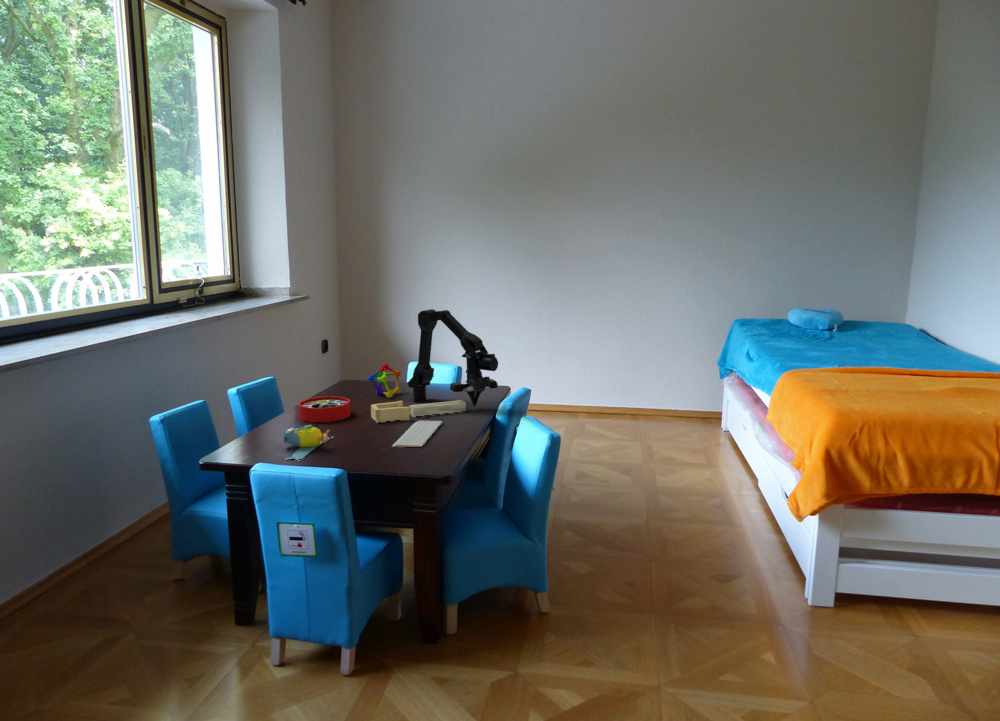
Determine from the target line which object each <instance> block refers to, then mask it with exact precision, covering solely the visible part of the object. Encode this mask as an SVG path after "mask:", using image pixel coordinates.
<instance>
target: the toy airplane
mask: <svg viewBox="0 0 1000 721" xmlns="http://www.w3.org/2000/svg"><path fill="white" fill-rule="evenodd" d="M330 431H331V429H326V431H325V432H323V433H322V431H321V430H320V429H319V427H316V426H312V424H307V425H300V426H298V427H297V426H295V427H291V428H288V429H285V430H284V432H283V435H282V439H283V440H282V441H283V444H286V443H287V444H289V445H291V446H292V445H293V446H295V447H299V448H298V449H297V450H296V451H295V452H294V453H293V454H292V455H291V456H292V457H291V456H289V457H285V458H284V459H285V460H284V461H290V460H292V459H296V460H298V461H299V462H301V461H300V460H299V459H302V460H303V459H304V458H305V457H307V455H309V453H311V452H313V451H314V450H315V449H316V448H318V447H319V446H320V445H322V444H327V442H329V440H332V439H334V436H329V433H330ZM329 437H331V438H329ZM298 461H297V462H298Z"/></svg>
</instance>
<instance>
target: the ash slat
mask: <svg viewBox="0 0 1000 721" xmlns="http://www.w3.org/2000/svg"><path fill="white" fill-rule="evenodd" d="M408 407H409V408H410V417H412V418H417V417H416V416H422V417H425V416H424V415H431V416H433V415H432V414H440V415H445V414H444V413H449V414H455V413H454V412H458V413H463V412H462V411H466V412H467V409H466V408H467V405H466V402H465V401H464V400H462V399H459V400H452V401H449V400H448V401H441V402H440V401H439V402H432V403H423V404H422V403H421V404H412V405H408Z"/></svg>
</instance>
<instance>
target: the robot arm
mask: <svg viewBox="0 0 1000 721" xmlns="http://www.w3.org/2000/svg"><path fill="white" fill-rule="evenodd" d="M438 321H440V322H442V323H443V324H444V326H446V328H448V330H450V331H451V333H452V334H454V336H455V337H456V338H457V339H458V340H459V343H460V346H461V347H462V349H463V350H464V351H465V352H464V353H463V354H462V355H461V358H465V359H466V370H465V373H466V380H465V383H461V382H460V381H458V382H451V383H450V385H449V386H450V387H449V389H450V391H452V392H453V393H461V392H463V391H464V392H466V393H467V395H468V397H469V399H470V402H471V404H472V406H473V407H476V406H477V403H478V400H479V397H480V396H481V394H482V392H485V390H486V387H487V388H490V389H491V390H492V389H498V384H499V383H498V381H497V380H495V379H492V378H490V376H483V372H482V371H489V372H495V371H497V369H498V368H499V367H498V366H499V360H498V358H497V357H496V354H495V353H489V351H488V350H487V349H486V347H485V345H484V344H483V340H482V339H481V338H480V337H479V336H478V335H476V334H474V333H472V332H470V331H468V330H467V329H466V328H465V327H464V326H463V325H462V324H461V323H460V322H459V321H458V320H457V319H456V318H455V317H454V316H453V314H452V313H451V311H450V310H448V309H444V310H437V311H436V309H433V308H431V309H425V310H420V312H418V313H417V325H418V327H419V329H420V335H419V336H420V337H419V350H418V351H419V352H418V361H417V364H416V366H415V368H414V369H413V374H412V377H411V378H410V379H409V380H408V382H407V385H408V388H409V389H412V397H411V398H410V400H411V401H412V402H414V403H418V402H419V403H420V402H421V403H422V402H429V400H430V399H429V398H427V386H430V385H431V381H432V380H433V379H434V373H435V368H434V367H432V365H431V363H430V362H431V353H432V342H433V331H434V330H435V328H436V326H437V324H438Z"/></svg>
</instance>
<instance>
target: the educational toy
mask: <svg viewBox="0 0 1000 721" xmlns="http://www.w3.org/2000/svg"><path fill="white" fill-rule="evenodd" d="M389 365H390V364H388V363H387V362H385V363H382V364H381V368H380V369H379V370H378V371H377V372H375V374H369V375H368V377H367V380H368V382H371V383H372V384H373V386H374V387H375V389H376V390H375V394H376V395H377V396H382V395H385V396H386V398H388V399H391V398H392V397H393V396H394V394H396V395H400V393H401V391H402V389H401V388H400V387H399V377H400V375H401V374H402V373H401V371H400V370H399V369H396V370H394V369H392V368H391V367H390V366H389ZM387 370H388V371H390V372H387ZM388 376H395V387H394V389H390V388H389V386H388V383H387V381H388ZM376 380H377V381H378V384H377V383H376ZM382 383H384V386H385V389H384V390H383V389H382V387H381V386H382ZM390 397H391V398H390Z"/></svg>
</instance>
